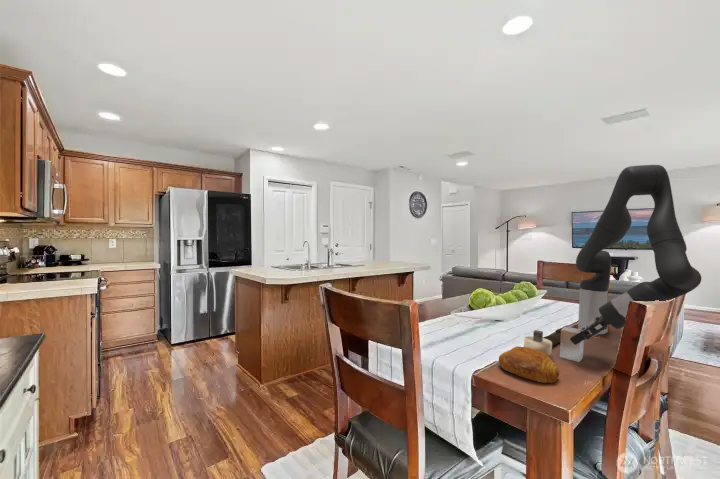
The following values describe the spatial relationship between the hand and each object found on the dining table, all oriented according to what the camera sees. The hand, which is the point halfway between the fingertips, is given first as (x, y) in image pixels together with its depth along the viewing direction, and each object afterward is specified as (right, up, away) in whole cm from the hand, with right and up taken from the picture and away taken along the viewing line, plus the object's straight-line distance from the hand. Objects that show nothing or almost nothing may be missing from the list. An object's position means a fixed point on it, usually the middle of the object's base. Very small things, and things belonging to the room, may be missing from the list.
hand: (575, 338), depth 105 cm
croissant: (-20, -7, -11) cm, 24 cm away
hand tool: (+1, -6, +14) cm, 15 cm away
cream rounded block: (-11, -6, +2) cm, 13 cm away
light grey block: (-1, -6, +1) cm, 6 cm away
